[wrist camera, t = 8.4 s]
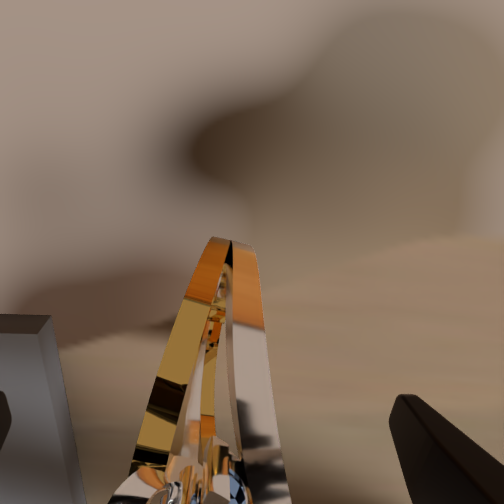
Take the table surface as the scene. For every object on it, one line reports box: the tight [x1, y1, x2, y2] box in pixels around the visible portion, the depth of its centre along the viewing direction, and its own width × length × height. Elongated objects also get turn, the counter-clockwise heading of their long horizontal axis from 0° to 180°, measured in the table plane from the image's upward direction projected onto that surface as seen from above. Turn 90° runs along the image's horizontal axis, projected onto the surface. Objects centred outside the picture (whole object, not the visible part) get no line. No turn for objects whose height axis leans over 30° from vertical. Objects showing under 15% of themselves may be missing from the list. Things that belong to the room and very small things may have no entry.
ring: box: [108, 237, 292, 504], centre depth 9 cm, size 7×3×8 cm, turn 166°
